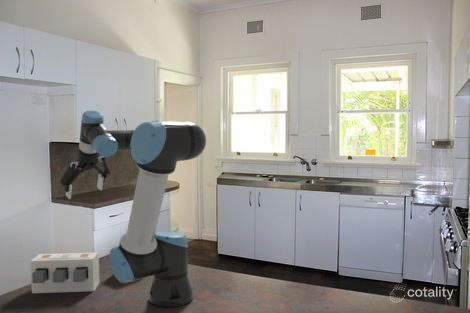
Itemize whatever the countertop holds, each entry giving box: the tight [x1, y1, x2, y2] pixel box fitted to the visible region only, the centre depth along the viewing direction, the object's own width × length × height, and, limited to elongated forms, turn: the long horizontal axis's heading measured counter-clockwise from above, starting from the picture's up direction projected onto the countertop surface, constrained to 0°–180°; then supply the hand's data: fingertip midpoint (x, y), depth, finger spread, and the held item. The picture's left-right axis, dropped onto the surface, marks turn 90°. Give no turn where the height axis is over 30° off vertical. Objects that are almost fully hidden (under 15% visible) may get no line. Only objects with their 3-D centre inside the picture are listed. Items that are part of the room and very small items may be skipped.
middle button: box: [53, 268, 67, 283], centre depth 144 cm, size 4×4×4 cm
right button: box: [73, 268, 87, 282], centre depth 144 cm, size 4×4×4 cm
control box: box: [29, 251, 101, 294], centre depth 150 cm, size 8×22×12 cm, turn 94°
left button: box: [32, 269, 48, 283], centre depth 143 cm, size 4×4×4 cm
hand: (84, 192), depth 165 cm, fingers open, 13 cm apart
